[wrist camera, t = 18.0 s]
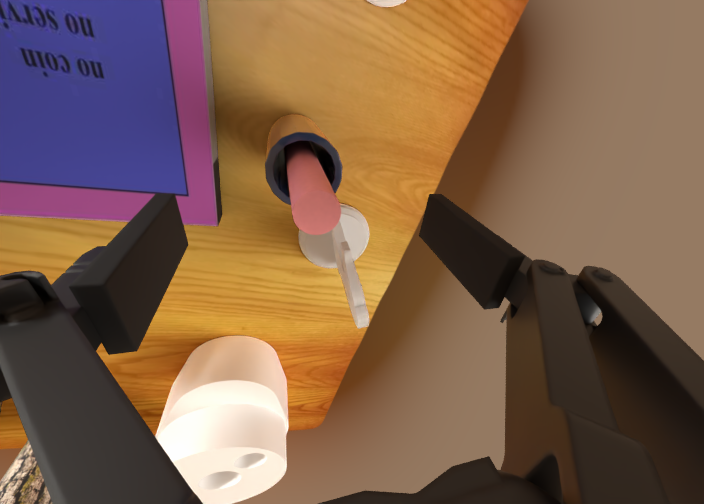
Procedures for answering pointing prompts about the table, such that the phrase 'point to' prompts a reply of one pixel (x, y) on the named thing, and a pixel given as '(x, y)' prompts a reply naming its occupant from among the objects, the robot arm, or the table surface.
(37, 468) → the bark covered wood stump
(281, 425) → the container
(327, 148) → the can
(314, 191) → the pink long cylinder
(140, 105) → the book
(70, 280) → the robot arm
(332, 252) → the chess piece
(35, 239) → the table surface
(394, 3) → the wineglass
